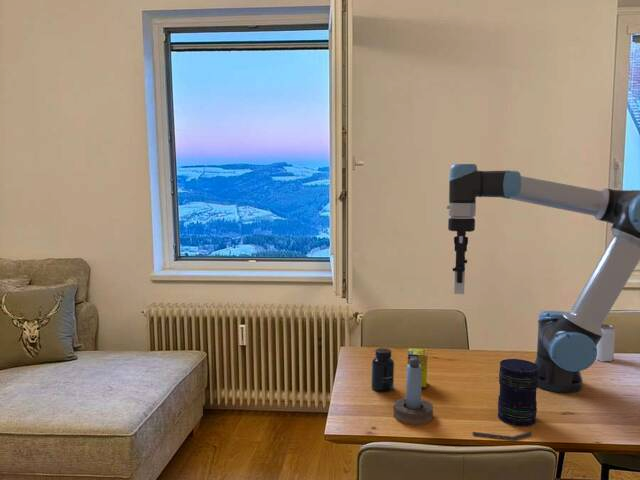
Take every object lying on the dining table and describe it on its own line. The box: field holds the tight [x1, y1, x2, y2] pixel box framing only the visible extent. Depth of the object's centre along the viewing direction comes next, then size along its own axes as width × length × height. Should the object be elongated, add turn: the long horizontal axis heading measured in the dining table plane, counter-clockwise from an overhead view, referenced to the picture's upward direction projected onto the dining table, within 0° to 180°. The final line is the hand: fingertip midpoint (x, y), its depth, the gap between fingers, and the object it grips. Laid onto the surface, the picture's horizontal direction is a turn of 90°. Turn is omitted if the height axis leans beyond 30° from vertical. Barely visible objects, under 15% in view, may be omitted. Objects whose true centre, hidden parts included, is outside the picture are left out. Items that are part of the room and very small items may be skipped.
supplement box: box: [407, 347, 428, 390], centre depth 165 cm, size 6×6×11 cm
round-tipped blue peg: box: [405, 358, 422, 410], centre depth 143 cm, size 4×4×16 cm
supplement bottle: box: [370, 347, 395, 393], centre depth 162 cm, size 7×7×12 cm
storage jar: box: [497, 358, 539, 428], centre depth 142 cm, size 10×10×15 cm
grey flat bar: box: [472, 431, 533, 441], centre depth 133 cm, size 14×4×1 cm, turn 75°
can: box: [596, 323, 616, 362], centre depth 188 cm, size 6×6×12 cm
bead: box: [393, 397, 434, 426], centre depth 144 cm, size 10×10×3 cm
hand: (459, 289), depth 156 cm, fingers open, 13 cm apart
